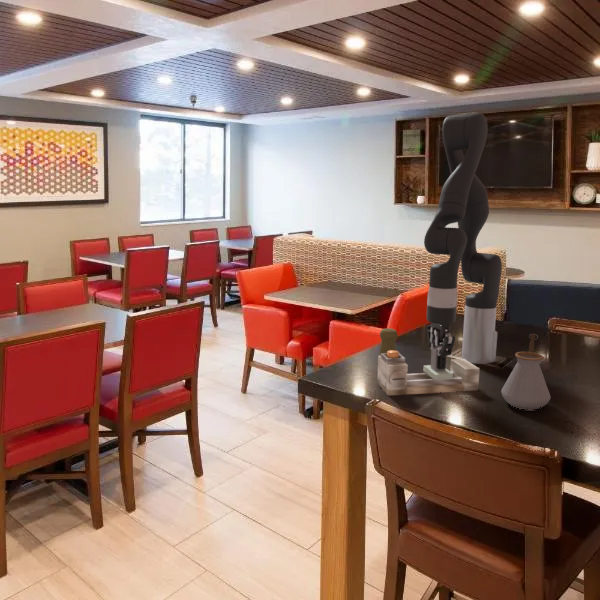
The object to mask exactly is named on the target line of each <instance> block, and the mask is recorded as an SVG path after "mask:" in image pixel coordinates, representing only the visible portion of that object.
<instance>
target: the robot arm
mask: <svg viewBox="0 0 600 600" xmlns="http://www.w3.org/2000/svg"><path fill="white" fill-rule="evenodd" d="M488 127H489V126H488V121H487V118H486V116H485V115H484V114H483V113H480V112H473V113H463V114H453V115H449V116H446V117H445V118H444V120H443V122H442V129H441V131H442V141H443V145H444V150H445V156H446V159H447V162H448V168H449V173H450V175H449V177H448V178H447V179H446V181H445V182H444V184H443V186H442V188H441V192H440V197H439V201H438V206H437V209H436V213H435V214H434V216H433V220H432V221H431V223H430V225H429V227H428V228H427V230H426V233H425V235H424V239H423V244H424V248H425V250H426V252H427V253H429V254H431V255H441V256H442V255H444V256H449V259H448V260H447V261H446V262H440V263H434V264H432V265H431V266H430V269H429V286H428V291H427V302H426V304H427V305H426V321H428V322H429V323H430V324H429V325H426V327H425V329H426V335H427V336H426V338H427V346H428V348H430V351H432V347H437V369H445V367H446V368H447V356H451V355H452V352H453V347H454V344H455V341H456V337H455V336H454V335H451V326H450V325H451V324H454V323H455V322H456V318H457V303H458V302H457V301H458V291H457V289H458V288H457V286H458V274H459V273H458V272H459V269H460V268H461V269H460V270H461V274H462V277H463V279H464V281H466V282H468V283H472V284H480V285H481V284H482V285H483V287H482V290H480V291H478V292H474V293H470V294H468V295H466V296H465V302H464V317H463V328H462V329H463V333H462V334H463V335H462V346H461V359H465V360H467V361H468V362H470V363H472V364H474V365H477V364H478V365H487V364H491V363H496V354H497V342H498V331H496V320H497V319H496V318H497V307H498V305H497V304H498V300H499V294H500V285H501V279H502V267H503V264H502V262H503V261H502V259H501V257H500V255H498V254H494V253H488V252H487V253H485V252H478V250H477V238H478V237H479V234H480V232H481V230H482V228H483V227H484V225H485V224H486V222H487V220H488V218H489V215H490V206H489V205H490V204H489V197H488V195H489V194H488V191H487V189H486V186H485V185H484V184H483V182H482V180H480V178H479V177H478V176H477V175H476V172H477V168H478V167H479V163H480V161H481V156H482V155H483V154H482V153H484V152H483V151H484V148H485V146H486V143H487V138H488V133H489V132H488V131H489V130H488V129H489V128H488ZM464 150H466V152H465V154H464V153H463V151H464ZM455 223H457V227H447V226H448V225H451V224H455ZM459 267H460V268H459ZM441 347H442V348H441Z"/></svg>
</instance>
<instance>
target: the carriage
mask: <svg viewBox="0 0 600 600" xmlns="http://www.w3.org/2000/svg"><path fill="white" fill-rule="evenodd" d="M441 348H442V347H441ZM430 351H431V350H430ZM423 373H427V374H428V375H429V376H430V377H432V378H433V379H434V380H448V379H453V373H451V372H450V369H447V366H446V367H445V369H437V347H432V351H431V355H430V364H427V365H423Z"/></svg>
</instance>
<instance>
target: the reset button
mask: <svg viewBox="0 0 600 600" xmlns="http://www.w3.org/2000/svg"><path fill="white" fill-rule="evenodd" d="M399 353H400V352H399V351H398V350H396V351H394V350H390V351H387V358H399Z"/></svg>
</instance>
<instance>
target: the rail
mask: <svg viewBox="0 0 600 600" xmlns="http://www.w3.org/2000/svg"><path fill="white" fill-rule="evenodd" d="M377 363H378V364H377V377H376V378H377V382H376V385H378V386H379V388H380V387H381V388H382V389H381V388H380V389H381V390H382V391H383V392H384V393H385V394H386V395H387V396H403V395H421V394H423V395H424V394H437V393H440V392H441V393H452V392H453V393H454V392H455V393H457V392H456V391H458V392H473V391H474V392H475V391H479V381H480V367H477V366H476V364H474V363H470V362H468V361H467V360H465V359H462V358H454V359H450V367H449V368H450V369H449V371H450V372H451V373H453V379H448V380H434V379H433V378H432V377H430V376H429V375H428V374H427V373H425V372H419V373H417V372H416V373H408V370H409V369H408V368H409V365H408V364H407V363H406V357H404V356H403V355H402V354H401V353H400V352H399V358H387V353H383V354H381V356H379V355H378V356H377ZM441 393H440V394H441Z"/></svg>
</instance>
